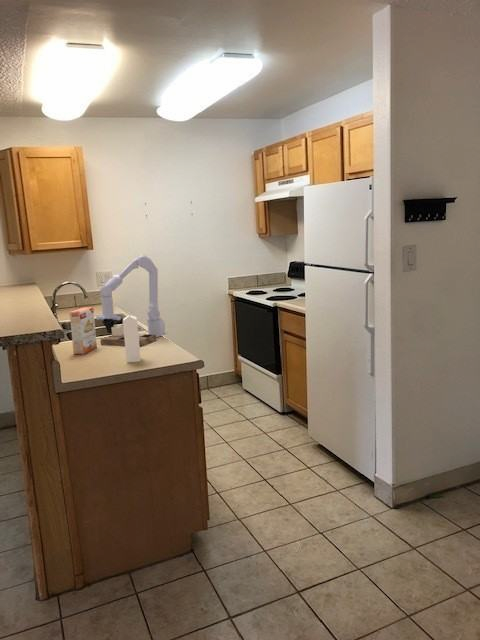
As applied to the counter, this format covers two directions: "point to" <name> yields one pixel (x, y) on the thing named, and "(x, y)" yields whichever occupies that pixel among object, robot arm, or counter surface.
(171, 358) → the counter surface
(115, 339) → the trap board
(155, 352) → the counter surface
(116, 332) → the block
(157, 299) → the robot arm
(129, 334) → the milk
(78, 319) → the cracker box
